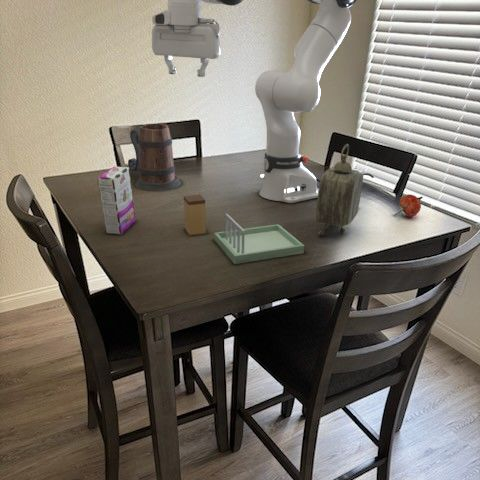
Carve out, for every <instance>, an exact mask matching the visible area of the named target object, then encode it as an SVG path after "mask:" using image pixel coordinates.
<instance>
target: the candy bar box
mask: <svg viewBox="0 0 480 480" xmlns="http://www.w3.org/2000/svg"><path fill="white" fill-rule="evenodd" d="M97 183H98V190H99V196H100V202H101V208H102V209H101V210H102V214H103V216H102V217H103V221H104V227H105V233H106V234H108V235H123V234H124V233H125V232H126V231H127V230H128V229H129V228H130V227H131V226H132V225H133V224H134V223H135V222H136V215H135V207H134V198H133V197H134V196H133V191H132V182H131V173H130V168H129V166H117V165H116V166H112V167H111V168H109V169H108V170H106V171H105V172H104V173H102V174H100V175H99V176H97Z"/></svg>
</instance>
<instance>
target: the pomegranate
mask: <svg viewBox="0 0 480 480" xmlns="http://www.w3.org/2000/svg"><path fill="white" fill-rule="evenodd" d="M421 199H422V200H423V199H424V197H423V196H420V197H417V196H416V195H415V194H410V193H409V194H405V195H403V196H402V197H401V198H400V199H399V201H398V204H399V206H400V207H401V208H402V209H400V211H398V212H397V213H395V214H394V215H393V216H394V217H395V216H397V215H398V214H401V213H402V212H403V214H404V215H406V216H407V217H408V218H413V217H415V216H417V215H418V214H419V213H420V211H421V208H422V203H421Z"/></svg>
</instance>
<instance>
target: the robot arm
mask: <svg viewBox="0 0 480 480" xmlns="http://www.w3.org/2000/svg"><path fill="white" fill-rule="evenodd" d="M243 1H244V0H167V9H165V10H163V11H161V12H157V13H155V14H153V15H152V17H151V21H152V22H151V23H152V24H153V25H154V26H153V27H152V29H151V49H152V50H151V51H152V52H153V54H154V56H163V57H164V59H163V60H164V62H165V64H166V66H167V68H168V74H169V75H177V67H176V66H174V63H173V62H172V61H173V59H174V58H173V57H175V58H176V57H177V58H191V59H193V58H194V59H200V61H199V62H200V63H201V65H200V68H199V69H197V71H196V72H197V73H196V74H197V77H200V78H204V77H205V76H206V69H207V67H208V65H209V63H210V62H209V60H216V59H219V57H220V56H221V41H220V24H219V23H218V22H217V21H216V20H215V19H214V18H202V2H204V3H206V4H209V5H225V6H231V7H232V6H237V5H239V4H241V3H242V2H243ZM306 1H307V2H308V3H311V4H314V5H319V7H318V10H317V12H316V15H315V17H314V18H313V19H312V21H311V22H310V24H309V25H308V27H307V28H306V30H305V31H304V32H303V34H302V35H301V37H300V38H299V40H298V41H297V43H296V45H295V46H294V49H293V55H294V58H295V60H294V63H293V65H292V67H291V68H289V70H288V71H286V70H282V69H281V70H280V69H270V70H267V71H263V72H262V73H261V74H260V75H259V76H258V77H257V79H256V81H255V87H254V91H255V92H254V93H255V95H256V98H257V99H258V101H259V102H260V104H261V107H262V111H263V116H264V122H265V128H266V142H265V143H266V145H265V152H264V159H263V170H264V172H263V174H260V178H263V179H262V183H261V187H260V190H259V193H258V195H259V196H260V197H262V198H263V199H266V200H270V201H276V202H282V203H286V204H287V203H288V204H294V203H299V202H303V201H308V200H313V199H318V192H319V187H318V182H319V183H320V181H321V179H319V178H318V176H315V175H314V173H312V172H311V171H310V170H309V169H308V168H307V167H305V166H304V164H306V163H308V162H309V157H308V156H307V155H302V154H300V143H301V128H300V126H299V124H298V123H297V121H296V119H295V118H296V117H295V115H294V114H304V113H310V112H311V111H313V110H315V108H316V107H317V106H318V104H319V101H320V98H321V87H320V80H321V76H322V73H323V71H324V69H325V68H326V66H327V64H328V63H329V61H330V59H331V58H332V56H333V55H334V53H336V51H337V49H338V47H339V46H340V44H341V43H342V41H343V39H344V38H345V36H346V34H347V32H348V29H349V27H350V25H351V22H352V13H351V10H350V7H352V6H353V5H354V4H355V3H356V2H357V0H306ZM363 176H369V177H371V178H372V179H374V178H375V176H374V175H373V174H371V173H368V172H363Z"/></svg>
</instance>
